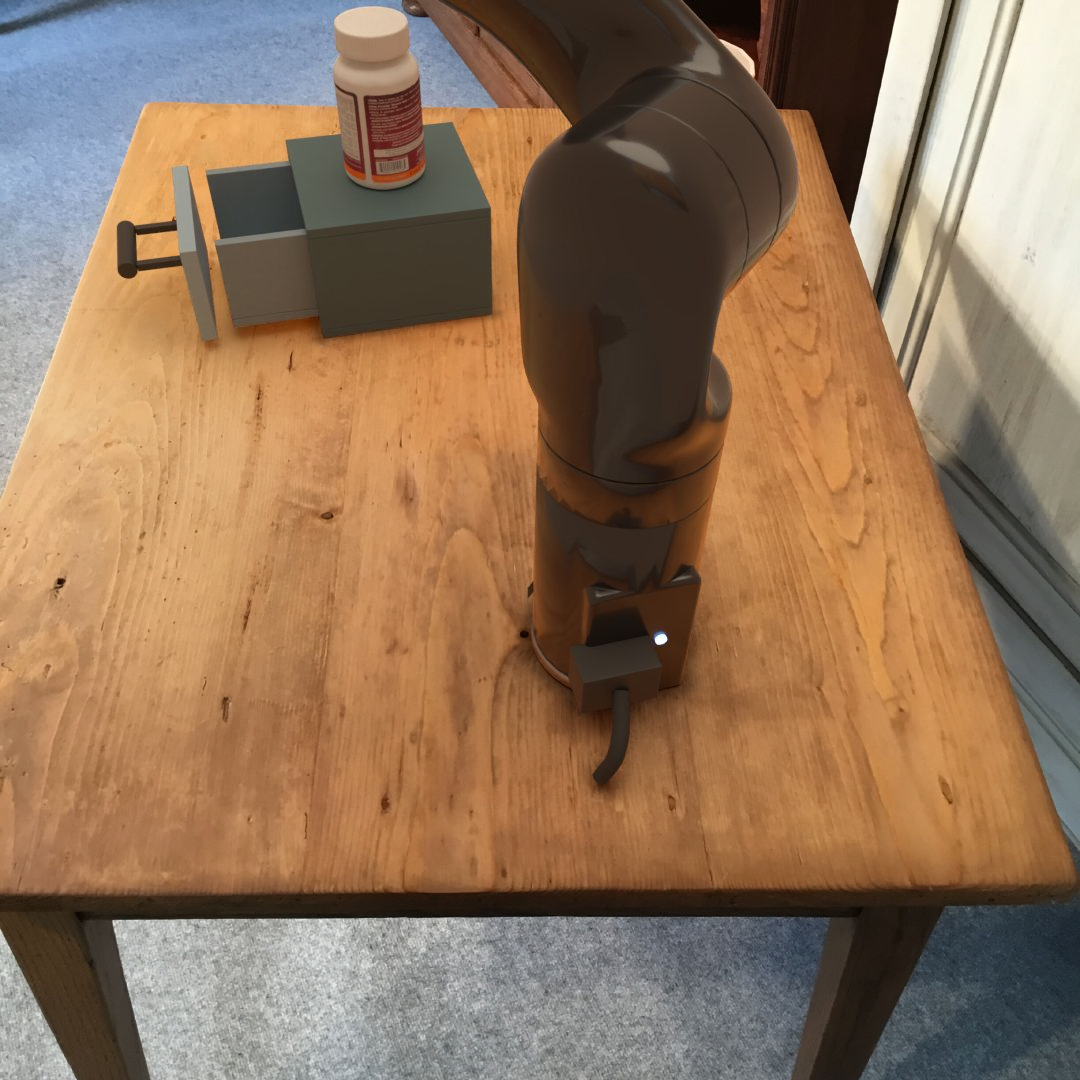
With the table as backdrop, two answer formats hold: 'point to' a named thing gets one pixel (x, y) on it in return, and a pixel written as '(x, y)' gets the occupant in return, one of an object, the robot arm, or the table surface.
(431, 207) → the cabinet
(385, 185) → the pill bottle
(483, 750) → the table surface
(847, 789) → the table surface
